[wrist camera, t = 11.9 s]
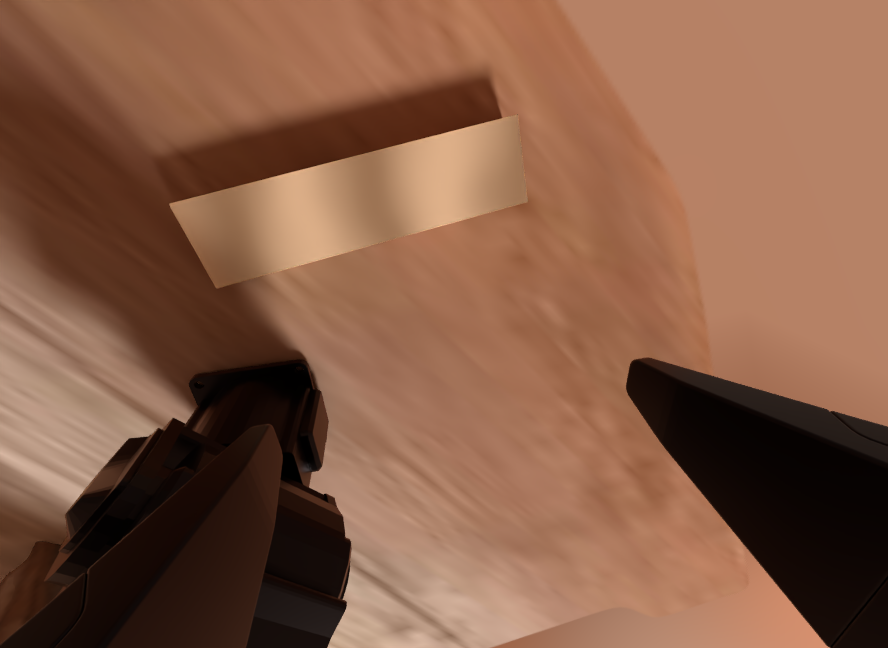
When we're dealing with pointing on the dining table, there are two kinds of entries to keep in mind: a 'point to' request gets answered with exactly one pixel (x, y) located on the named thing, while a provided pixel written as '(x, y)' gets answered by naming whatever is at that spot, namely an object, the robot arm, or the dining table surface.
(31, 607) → the brown paper bag
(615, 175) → the dining table surface
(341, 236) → the slat
